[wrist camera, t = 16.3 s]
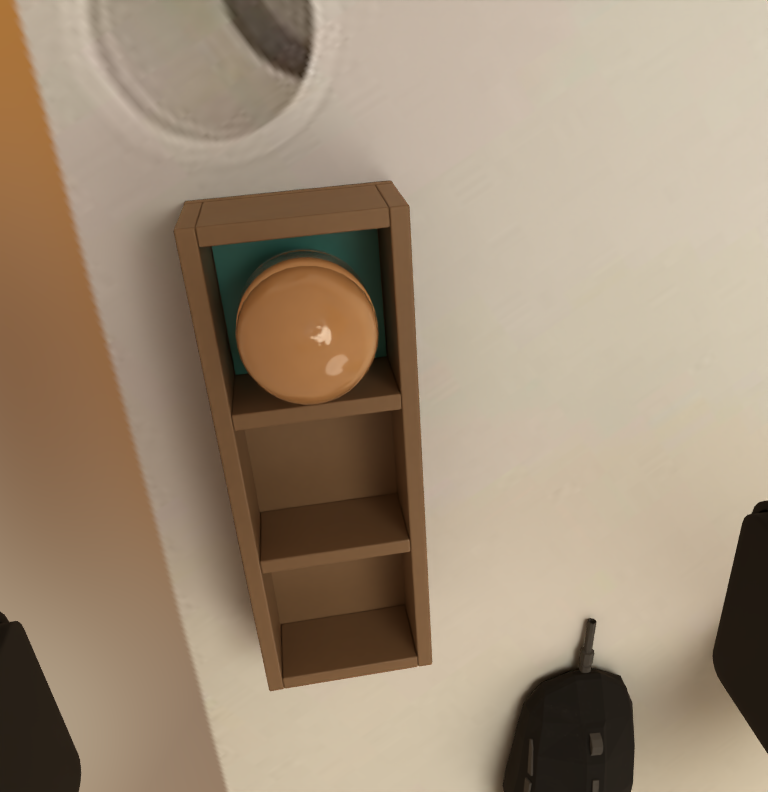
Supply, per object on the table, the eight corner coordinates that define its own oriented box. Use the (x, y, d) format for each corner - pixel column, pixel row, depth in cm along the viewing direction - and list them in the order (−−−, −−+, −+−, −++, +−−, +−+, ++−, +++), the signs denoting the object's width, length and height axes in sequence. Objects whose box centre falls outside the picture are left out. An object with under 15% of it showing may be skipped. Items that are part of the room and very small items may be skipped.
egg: (215, 268, 24) (202, 335, 19) (329, 209, 23) (347, 263, 19) (277, 369, 26) (280, 454, 21) (384, 317, 26) (412, 390, 21)
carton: (268, 628, 32) (269, 691, 29) (184, 200, 23) (172, 229, 20) (417, 605, 33) (432, 664, 30) (391, 180, 24) (409, 205, 21)
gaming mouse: (652, 612, 35) (694, 678, 32) (599, 802, 42) (629, 874, 39) (527, 623, 35) (557, 692, 31) (494, 815, 41) (515, 890, 38)
